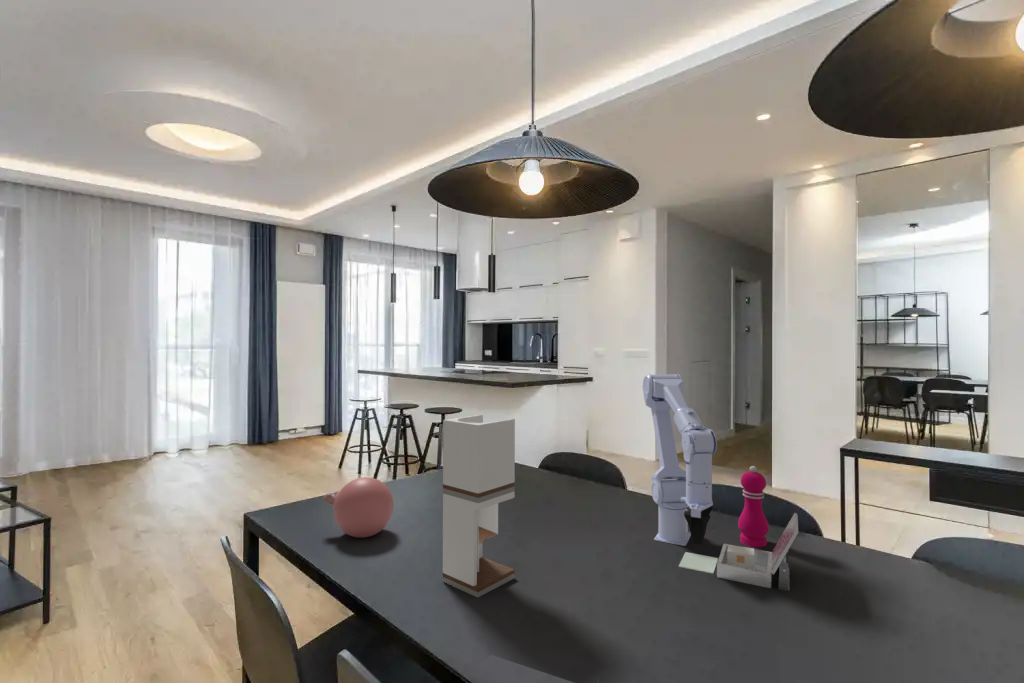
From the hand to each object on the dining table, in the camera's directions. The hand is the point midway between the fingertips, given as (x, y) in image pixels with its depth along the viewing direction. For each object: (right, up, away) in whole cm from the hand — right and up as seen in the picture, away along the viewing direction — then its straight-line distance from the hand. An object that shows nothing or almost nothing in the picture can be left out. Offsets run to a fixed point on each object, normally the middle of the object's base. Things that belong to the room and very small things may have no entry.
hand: (698, 539), depth 120 cm
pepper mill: (+19, -6, +13) cm, 23 cm away
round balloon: (-86, -6, +18) cm, 88 cm away
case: (+11, -6, -5) cm, 13 cm away
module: (+8, -6, -4) cm, 11 cm away
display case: (-51, -6, -9) cm, 52 cm away
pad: (0, -6, 0) cm, 6 cm away
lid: (+16, +3, -8) cm, 18 cm away
